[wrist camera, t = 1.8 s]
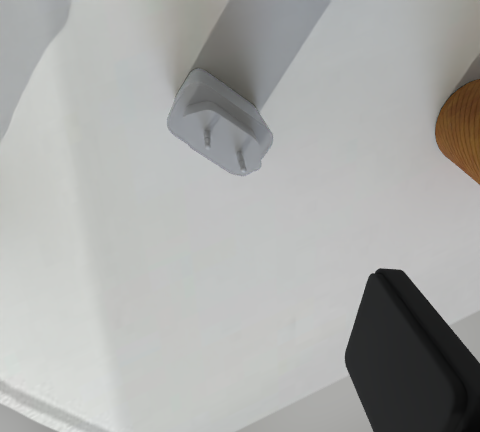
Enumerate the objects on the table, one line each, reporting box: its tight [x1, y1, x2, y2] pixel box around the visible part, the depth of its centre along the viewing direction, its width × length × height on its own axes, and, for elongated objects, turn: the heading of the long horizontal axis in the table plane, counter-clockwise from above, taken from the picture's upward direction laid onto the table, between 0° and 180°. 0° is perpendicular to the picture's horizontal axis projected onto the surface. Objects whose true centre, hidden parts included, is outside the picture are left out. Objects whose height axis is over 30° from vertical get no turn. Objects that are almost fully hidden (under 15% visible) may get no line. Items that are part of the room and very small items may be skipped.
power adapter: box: [167, 68, 273, 176], centre depth 22 cm, size 3×5×12 cm, turn 55°
